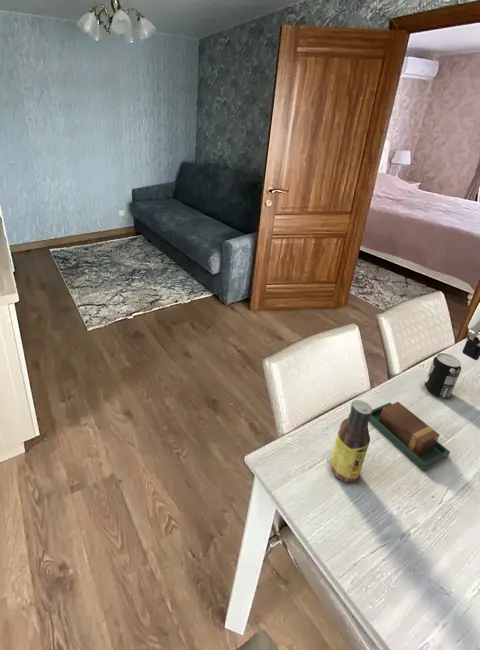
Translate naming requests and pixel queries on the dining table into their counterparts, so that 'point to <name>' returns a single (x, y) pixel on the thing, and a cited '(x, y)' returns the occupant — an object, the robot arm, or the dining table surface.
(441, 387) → the beverage can
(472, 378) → the dining table surface
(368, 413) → the sauce bottle
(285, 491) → the dining table surface
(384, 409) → the walnut box
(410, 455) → the tray
